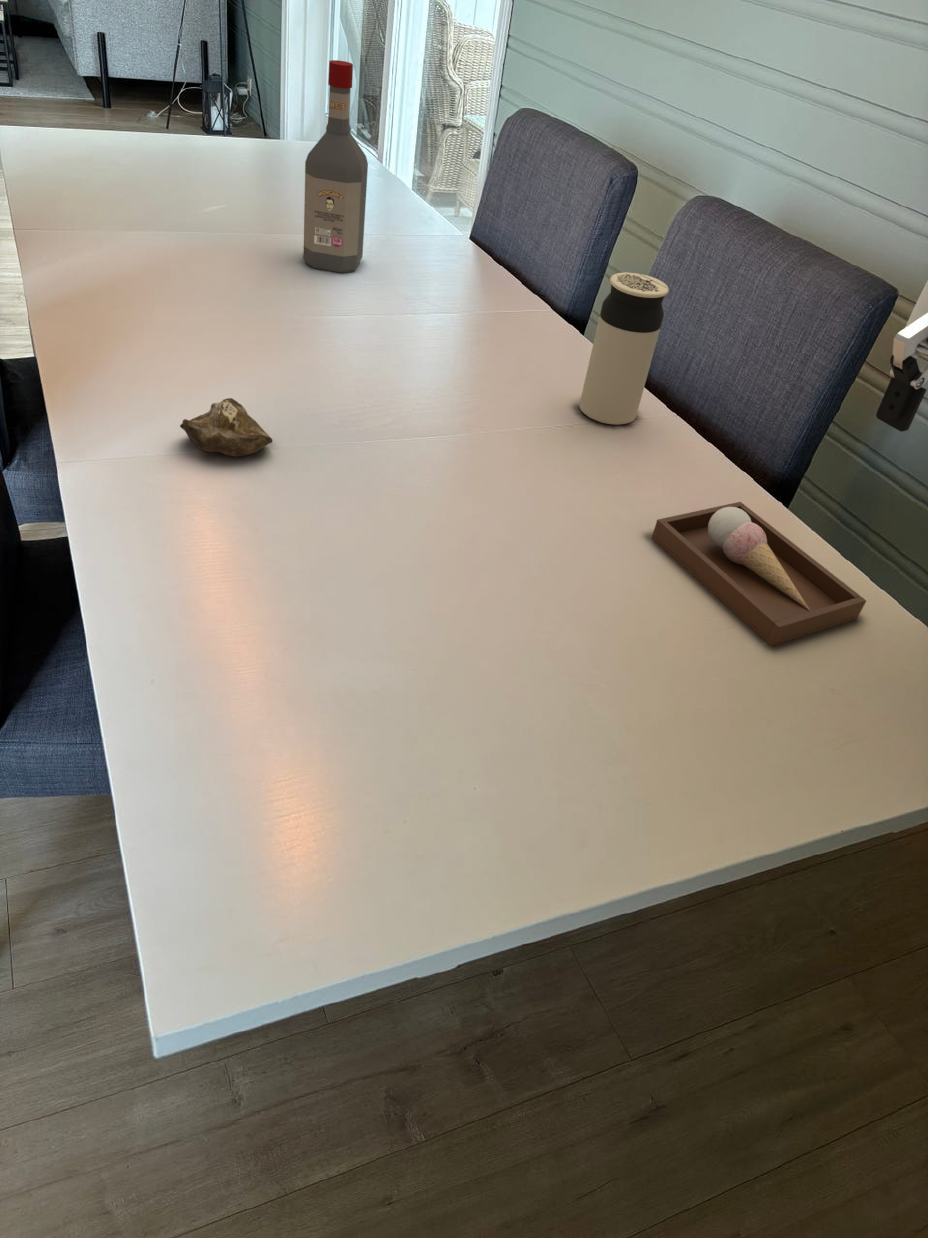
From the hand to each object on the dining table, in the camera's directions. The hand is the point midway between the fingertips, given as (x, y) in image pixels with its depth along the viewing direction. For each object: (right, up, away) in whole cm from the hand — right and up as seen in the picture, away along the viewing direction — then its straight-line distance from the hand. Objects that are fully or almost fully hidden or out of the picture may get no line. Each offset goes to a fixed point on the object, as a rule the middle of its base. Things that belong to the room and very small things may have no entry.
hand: (926, 417), depth 83 cm
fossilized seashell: (-69, +1, +23) cm, 73 cm away
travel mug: (-22, +10, +44) cm, 50 cm away
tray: (-11, -14, +17) cm, 24 cm away
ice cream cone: (-10, -13, +17) cm, 24 cm away
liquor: (-65, +43, +75) cm, 108 cm away
